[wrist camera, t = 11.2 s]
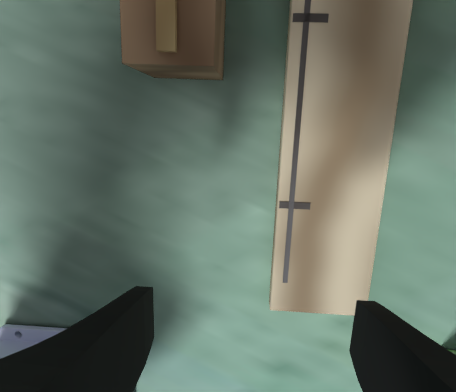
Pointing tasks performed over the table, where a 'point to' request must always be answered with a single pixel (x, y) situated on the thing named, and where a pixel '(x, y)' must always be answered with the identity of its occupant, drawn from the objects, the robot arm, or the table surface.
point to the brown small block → (174, 37)
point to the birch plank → (335, 149)
